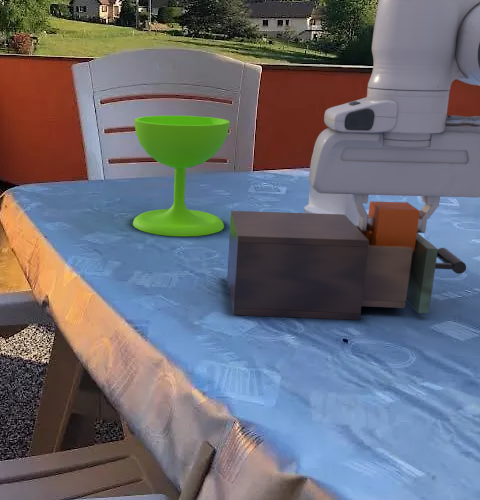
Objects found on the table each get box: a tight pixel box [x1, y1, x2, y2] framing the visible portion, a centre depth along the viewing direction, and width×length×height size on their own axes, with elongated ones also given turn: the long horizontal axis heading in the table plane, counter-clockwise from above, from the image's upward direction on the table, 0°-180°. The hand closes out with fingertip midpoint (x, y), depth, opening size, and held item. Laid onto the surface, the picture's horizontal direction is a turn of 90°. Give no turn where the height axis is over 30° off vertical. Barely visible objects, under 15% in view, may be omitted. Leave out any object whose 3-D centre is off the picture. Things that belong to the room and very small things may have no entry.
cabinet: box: [226, 210, 369, 321], centre depth 87 cm, size 15×13×10 cm
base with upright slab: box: [303, 184, 360, 226], centre depth 110 cm, size 9×9×12 cm
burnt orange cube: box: [366, 201, 420, 252], centre depth 85 cm, size 5×5×5 cm
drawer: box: [355, 225, 467, 314], centre depth 87 cm, size 18×11×8 cm, turn 86°
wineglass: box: [132, 115, 231, 237], centre depth 121 cm, size 16×16×18 cm
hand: (391, 231), depth 85 cm, fingers closed on burnt orange cube, 5 cm apart
